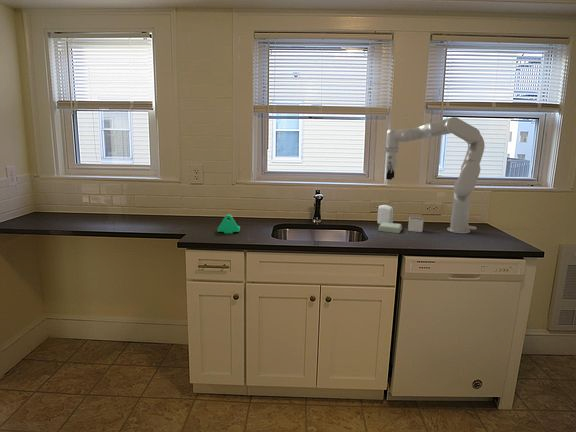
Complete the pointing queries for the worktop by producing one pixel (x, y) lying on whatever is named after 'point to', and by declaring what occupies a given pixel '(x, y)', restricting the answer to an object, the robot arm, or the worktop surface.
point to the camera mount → (228, 225)
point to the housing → (415, 224)
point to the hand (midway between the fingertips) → (390, 178)
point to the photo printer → (385, 214)
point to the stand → (390, 227)
